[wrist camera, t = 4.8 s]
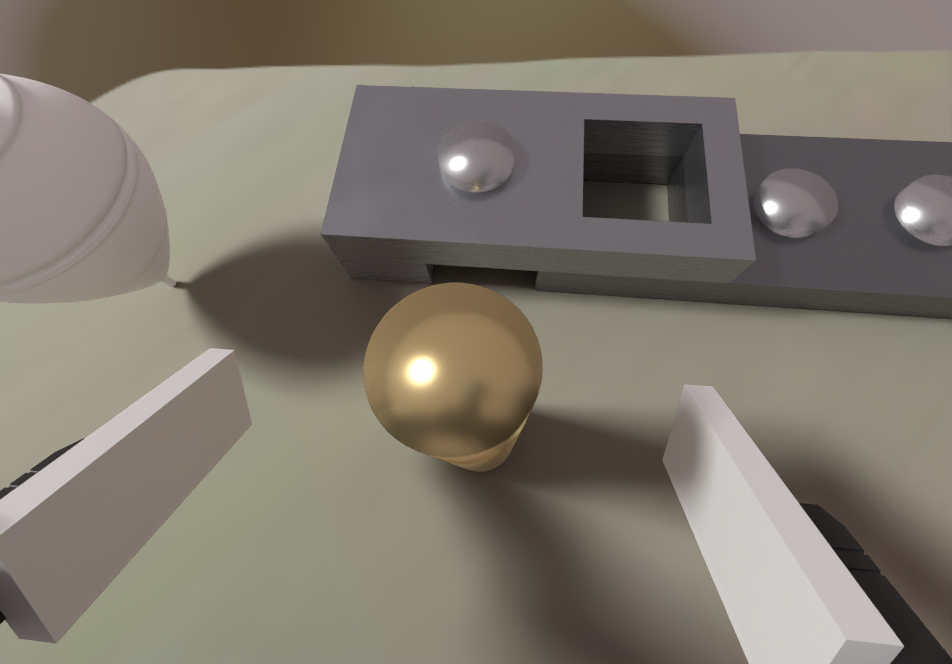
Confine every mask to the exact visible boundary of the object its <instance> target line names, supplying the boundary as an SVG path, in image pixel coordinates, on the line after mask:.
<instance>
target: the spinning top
mask: <svg viewBox="0 0 952 664" xmlns="http://www.w3.org/2000/svg"><path fill="white" fill-rule="evenodd" d="M169 260H170V244H169V231H168V223H167V213H166V210H165V206H164V203H163V200H162V196H161V193H160V190H159V187H158V184H157V182H156V179H155V176H154V174H153V171H152V169H151V167H150V165H149V163H148V161H147V159H146V158H145V156H144V154H143V153H142V151H141V150H140V148H139V147H138V146H137V144H136V143H135V142H134V141H133V140H132V139H131V137H130V136H129V135H128V134H127V133H126V132H125V130H124V129H123V128H122V127H121V126H120V125H119V124H118V123H117V122H115V121H114V120H113V119H112V118H110V117H109V116H108V115H106V114H105V113H104V112H102V111H101V110H99V109H98V108H97V107H95V106H94V105H92V104H90V103H89V102H87V101H85V100H83V99H81V98H79V97H78V96H76V95H73V94H71V93H69V92H67V91H64V90H62V89H59V88H56V87H54V86H51V85H48V84H44V83H41V82H38V81H34V80H30V79H26V78H22V77H16V76H10V75H4V74H0V302H8V303H61V302H78V301H89V300H94V299H99V298H104V297H110V296H114V295H119V294H124V293H129V292H133V291H136V290H140V289H143V288H146V287H149V286H152V285H154V284H157V283H159V282H161V281H162V282H164V283H165V284H167V285H168V286H170V287H172V286H175V285H176V281H175V280H174V279H172V278H171V277H169V276H167V273H168V268H169Z"/></svg>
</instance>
